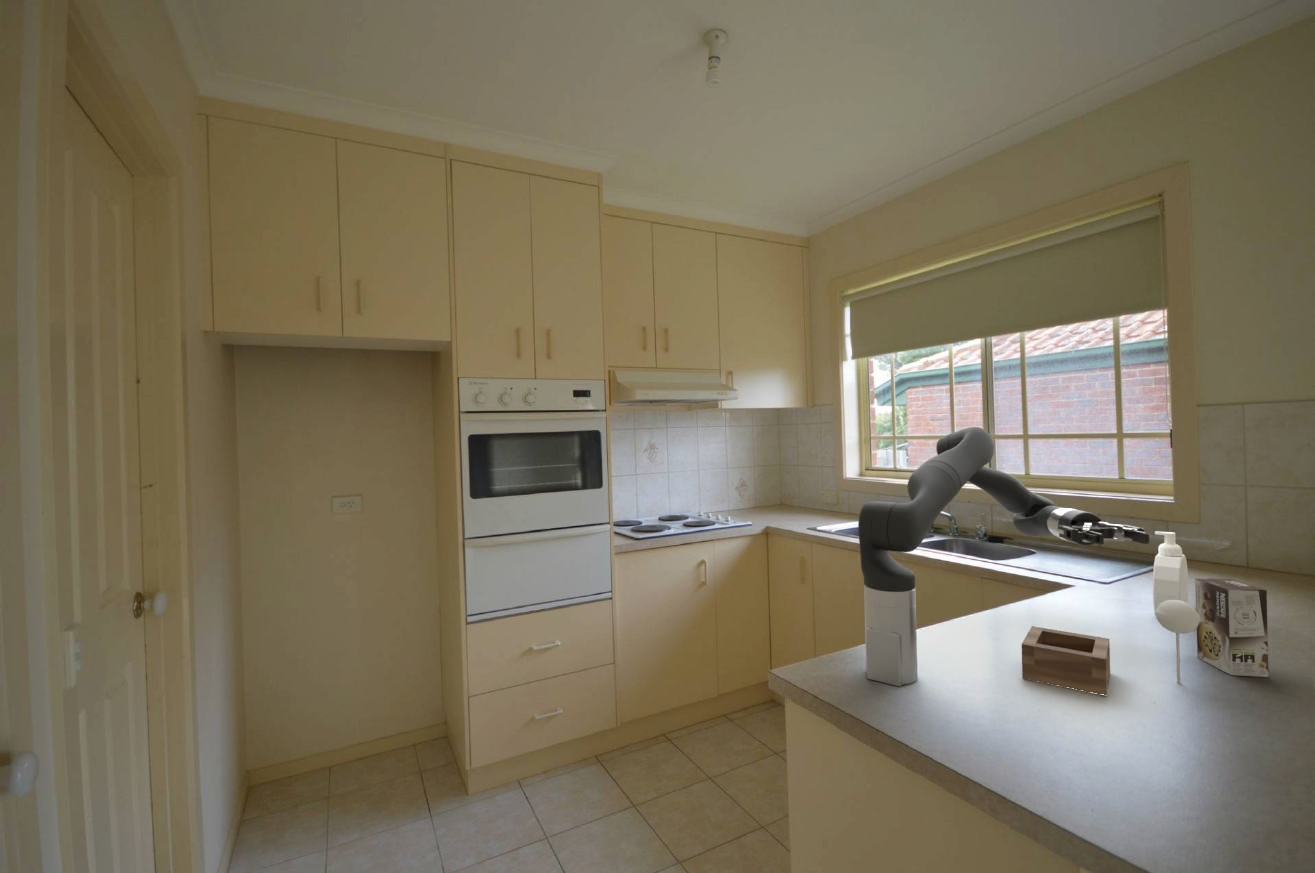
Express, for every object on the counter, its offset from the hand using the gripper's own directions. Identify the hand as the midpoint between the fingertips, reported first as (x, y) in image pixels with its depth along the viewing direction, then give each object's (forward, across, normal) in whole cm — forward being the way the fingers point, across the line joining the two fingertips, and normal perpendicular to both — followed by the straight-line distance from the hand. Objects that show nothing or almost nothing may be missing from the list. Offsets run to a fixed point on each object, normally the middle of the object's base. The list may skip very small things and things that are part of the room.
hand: (1124, 539), depth 118 cm
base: (+10, -17, +24) cm, 31 cm away
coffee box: (+5, +16, +24) cm, 29 cm away
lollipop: (+12, 0, +24) cm, 27 cm away
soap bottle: (-30, +30, +25) cm, 49 cm away
